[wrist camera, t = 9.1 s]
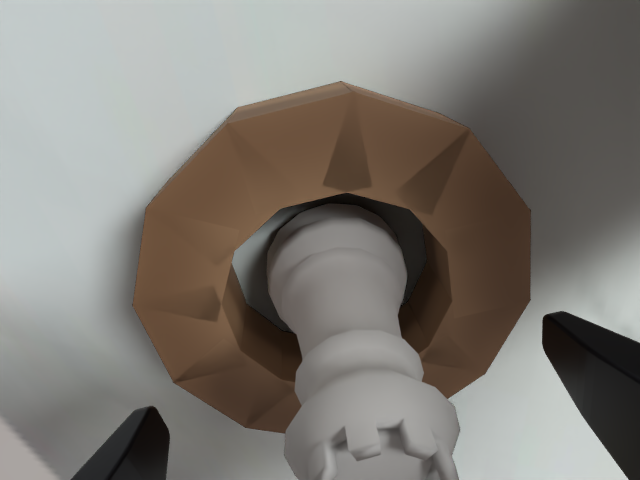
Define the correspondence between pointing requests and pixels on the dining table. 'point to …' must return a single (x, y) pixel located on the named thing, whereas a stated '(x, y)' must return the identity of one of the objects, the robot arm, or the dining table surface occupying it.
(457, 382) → the walnut bead ring
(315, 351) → the rook chess piece
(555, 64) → the dining table surface
